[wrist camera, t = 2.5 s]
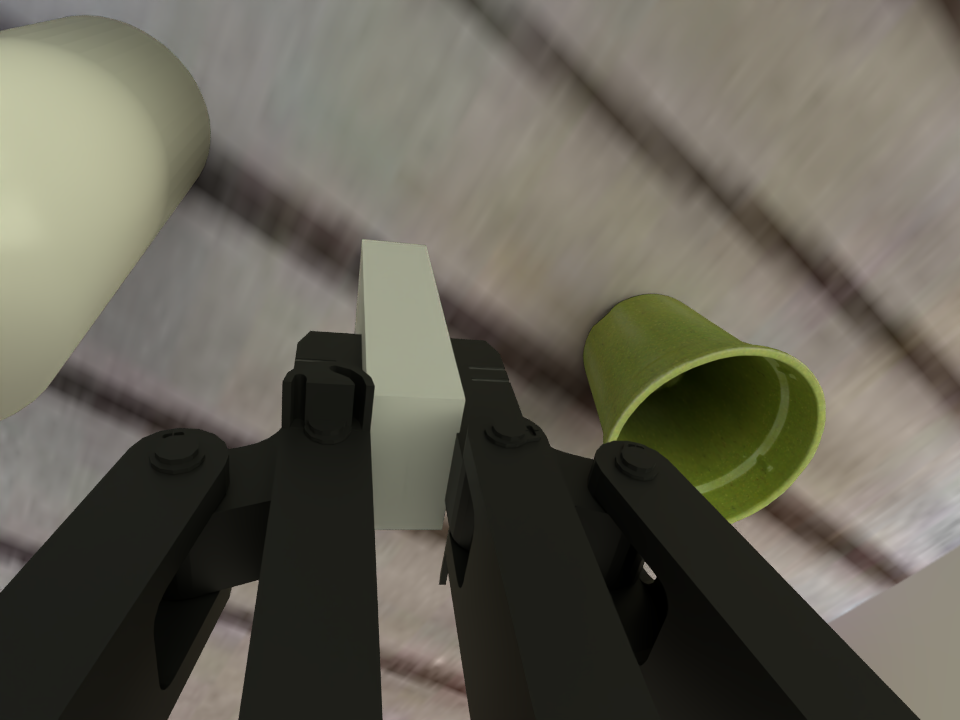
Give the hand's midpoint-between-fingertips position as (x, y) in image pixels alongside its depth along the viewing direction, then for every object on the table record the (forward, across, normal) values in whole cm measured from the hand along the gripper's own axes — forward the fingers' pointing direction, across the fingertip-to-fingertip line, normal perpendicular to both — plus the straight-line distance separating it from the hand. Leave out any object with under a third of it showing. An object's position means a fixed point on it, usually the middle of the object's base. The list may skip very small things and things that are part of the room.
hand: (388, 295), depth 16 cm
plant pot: (+13, +14, -8) cm, 21 cm away
